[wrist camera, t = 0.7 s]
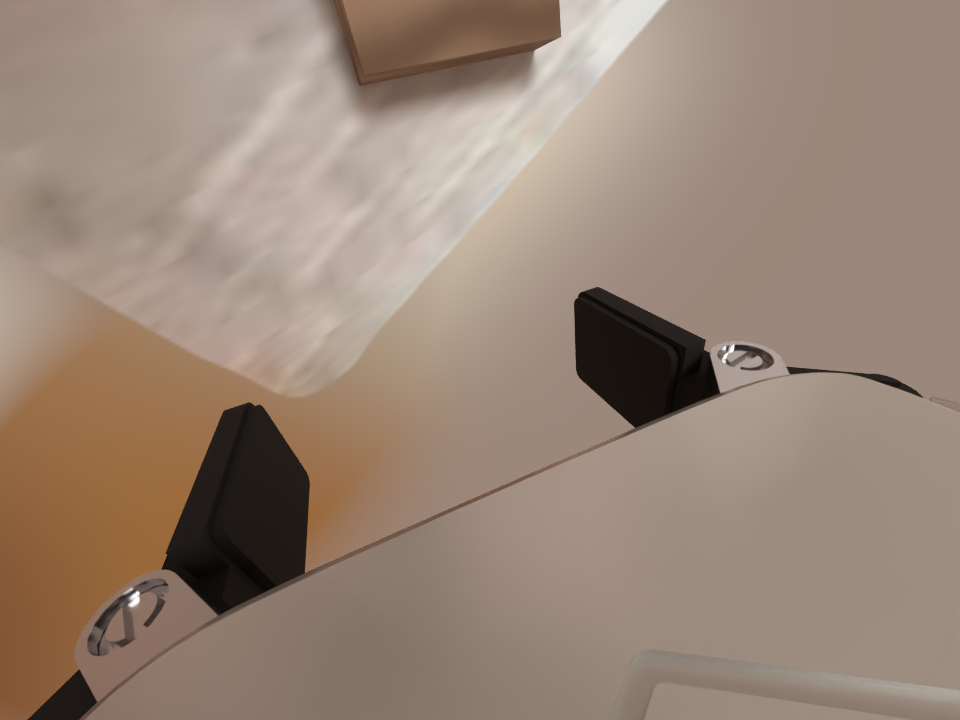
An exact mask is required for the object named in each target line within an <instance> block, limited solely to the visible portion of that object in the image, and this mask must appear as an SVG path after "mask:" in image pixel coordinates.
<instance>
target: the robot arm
mask: <svg viewBox="0 0 960 720" xmlns="http://www.w3.org/2000/svg"><path fill="white" fill-rule="evenodd" d="M574 313H575V344H576V345H575V348H576V371H577V374H578V376H579V378H580V379H581V380H582V381H583V382H584V383H586V384H587V385H588V386H589V387H590V388H591V389H592V390H593V391H595V392H596V393H597V394H598V395H599V396H600V397H601V398H603V399H604V400H605V401H606V402H607V403H608V404H609V405H610V406H611V407H612V408H614V409H615V410H616V411H617V412H618V413H619V414H620V415H621V416H622V417H624V418H625V419H626V420H627V421H628V422H629V423H630V424H632V425H633V426H634V427H635V429H632V430H630V431H628V432H625V433H623V434H621V435H618V436H616V437H614V438H611V439H609V440H607V441H604V442H602V443H600V444H597V445H595V446H593V447H590V448H588V449H586V450H583V451H581V452H579V453H577V454H574V455H572V456H570V457H567V458H565V459H563V460H560V461H558V462H556V463H553V464H551V465H549V466H546V467H544V468H542V469H539V470H537V471H535V472H532V473H530V474H528V475H526V476H523V477H521V478H519V479H517V480H514V481H512V482H510V483H507V484H505V485H503V486H500V487H498V488H496V489H494V490H491V491H489V492H487V493H484V494H482V495H480V496H477V497H475V498H473V499H471V500H468V501H466V502H464V503H461V504H459V505H457V506H455V507H452V508H450V509H448V510H446V511H443V512H441V513H439V514H437V515H434V516H432V517H430V518H427V519H426V520H423V521H421V522H418V523H416V524H414V525H412V526H410V527H407V528H405V529H403V530H400V531H398V532H396V533H393V534H391V535H389V536H387V537H385V538H382V539H380V540H378V541H376V542H373V543H371V544H369V545H366V546H364V547H362V548H360V549H357V550H355V551H353V552H351V553H348V554H346V555H344V556H342V557H340V558H337V559H335V560H333V561H331V562H329V563H326V564H324V565H322V566H320V567H318V568H316V569H313V570H311V571H309V572H307V573H305V558H306V539H307V522H308V505H309V487H310V484H309V483H310V482H309V477H308V475H307V472H306V471H305V469H304V468H303V466H302V465H301V463H300V462H299V460H298V459H297V457H296V456H295V454H294V453H293V451H292V450H291V448H290V447H289V445H288V444H287V442H286V441H285V439H284V438H283V436H282V435H281V433H280V432H279V430H278V428H277V427H276V425H275V424H274V423H273V421H272V420H271V418H270V416H269V415H268V413H267V412H266V411H265V409H264V408H263V407H262V406H261V405H257V406H254V405H253V404H252V403H246V404H243V405H240V406H237V407H234V408H230V409H227V410H225V411H224V412H223V413H222V416H221V418H220V421H219V423H218V426H217V428H216V431H215V433H214V436H213V438H212V441H211V443H210V445H209V448H208V450H207V453H206V455H205V458H204V460H203V463H202V465H201V468H200V470H199V472H198V475H197V477H196V480H195V482H194V485H193V487H192V490H191V492H190V495H189V497H188V499H187V502H186V505H185V507H184V509H183V512H182V514H181V517H180V519H179V522H178V524H177V527H176V529H175V532H174V534H173V537H172V539H171V541H170V544H169V546H168V549H167V551H166V554H167V557H166V560H165V562H164V565H163V567H162V569H161V570H156V571H153V572H150V573H147V574H145V575H143V576H141V577H139V578H137V579H135V580H134V581H132V582H130V583H128V584H127V585H126V586H124V587H123V588H122V589H121V590H119V591H118V592H116V593H115V594H114V595H113V596H112V597H111V598H110V599H109V600H108V601H107V602H106V603H104V605H102V606H101V607H100V608H99V610H98V611H97V612H96V613H95V614H94V616H93V617H92V618H91V619H90V621H89V622H88V623H87V625H86V627H85V628H84V630H83V632H82V633H81V635H80V637H79V639H78V642H77V645H76V649H75V652H74V653H75V660H76V664H77V665H78V667H79V670H78V671H77V672H76V673H75V674H74V675H73V676H72V677H71V678H70V679H69V680H68V681H67V682H66V683H65V684H64V685H63V686H62V687H61V688H60V689H59V690H58V691H57V692H56V693H55V694H53V696H51V697H50V699H48V700H47V701H46V702H45V703H44V704H43V705H42V706H41V707H40V708H39V709H38V710H37V711H36V712H35V713H34V714H33V715H32V716H31V717H30V718H29V719H28V720H960V403H959V402H954V401H949V400H945V399H940V398H935V397H931V398H930V400H926V399H924V398H923V397H922V396H921V395H920V394H919V393H918V392H917V391H916V390H914V389H912V388H911V387H909V386H907V385H905V384H903V383H901V382H900V381H898V380H896V379H894V378H891V377H888V376H884V375H879V374H864V373H852V372H840V371H829V370H817V369H806V368H795V367H786V366H785V364H784V362H783V360H782V359H781V357H780V356H779V355H778V354H777V353H776V352H774V351H773V350H771V349H769V348H767V347H764V346H762V345H759V344H754V343H749V342H741V341H733V342H725V343H720V344H718V345H716V346H714V347H713V348H712V349H711V351H710V353H709V352H707V351H705V350H704V346H705V341H706V340H705V339H703V338H701V337H699V336H697V335H694V334H692V333H690V332H688V331H686V330H684V329H682V328H680V327H678V326H676V325H674V324H672V323H670V322H668V321H666V320H664V319H662V318H660V317H658V316H656V315H654V314H652V313H650V312H648V311H646V310H644V309H642V308H640V307H638V306H636V305H634V304H632V303H630V302H628V301H626V300H624V299H622V298H620V297H618V296H616V295H614V294H611V293H610V292H608V291H606V290H603V289H601V288H599V287H596V288H593V289H590V290H587V291H584V292H581V293H580V294H579V296H578V298H577V299H576V300H575V302H574Z"/></svg>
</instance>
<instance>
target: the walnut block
mask: <svg viewBox="0 0 960 720" xmlns="http://www.w3.org/2000/svg"><path fill="white" fill-rule="evenodd" d="M334 2H335V5H336V8H337V12H338V15H339V18H340V21H341V25H342V28H343V31H344V35H345V38H346V41H347V44H348V48H349V51H350V54H351V58H352V61H353V64H354V67H355V71H356V74H357V77H358V81H359V84H360V85H365V84H370V83H374V82H379V81H384V80H389V79H394V78H399V77H404V76H409V75H414V74H419V73H424V72H429V71H434V70H439V69H444V68H449V67H454V66H459V65H464V64H469V63H474V62H479V61H484V60H488V59H493V58H498V57H503V56H508V55H513V54H518V53H523V52H528V51H533V50H536V49H538V48H540V47H542V46H544V45H546V44H548V43H549V42H551V41H553V40H555V39H557V38H559V37H561V27H560V7H559V0H334Z"/></svg>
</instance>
